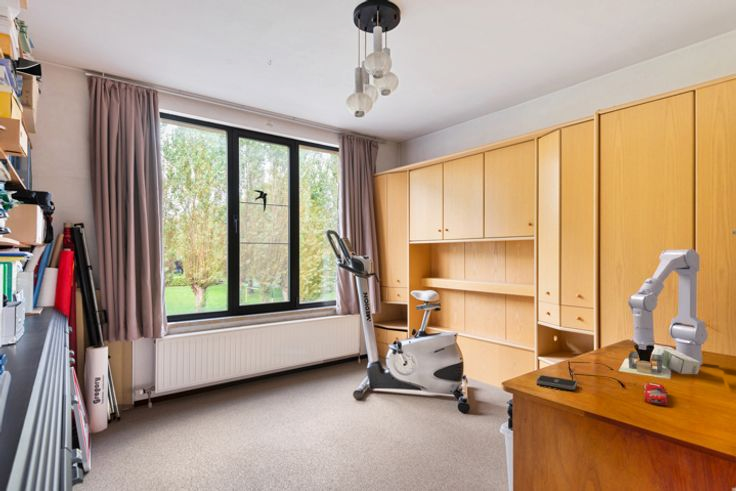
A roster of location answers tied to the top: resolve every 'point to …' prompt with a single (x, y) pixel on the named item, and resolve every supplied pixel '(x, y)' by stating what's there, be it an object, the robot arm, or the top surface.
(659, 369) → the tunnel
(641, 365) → the wooden block
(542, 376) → the external hard drive
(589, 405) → the top surface
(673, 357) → the syrup box
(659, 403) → the race car
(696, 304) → the robot arm
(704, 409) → the top surface
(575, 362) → the eyeglasses
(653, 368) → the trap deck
